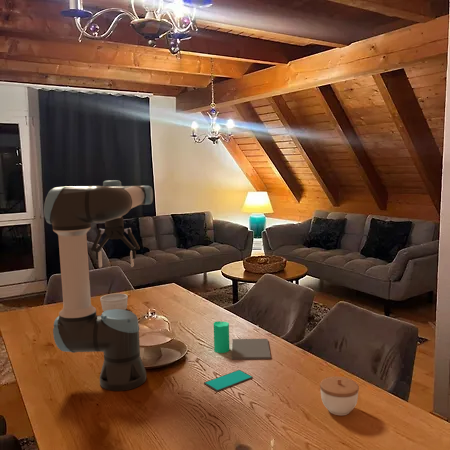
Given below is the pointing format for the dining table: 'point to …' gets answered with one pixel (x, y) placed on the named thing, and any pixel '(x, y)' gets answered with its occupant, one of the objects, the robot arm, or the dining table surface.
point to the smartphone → (228, 380)
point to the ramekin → (114, 301)
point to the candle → (221, 337)
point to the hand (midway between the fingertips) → (116, 266)
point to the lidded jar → (339, 394)
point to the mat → (250, 349)
